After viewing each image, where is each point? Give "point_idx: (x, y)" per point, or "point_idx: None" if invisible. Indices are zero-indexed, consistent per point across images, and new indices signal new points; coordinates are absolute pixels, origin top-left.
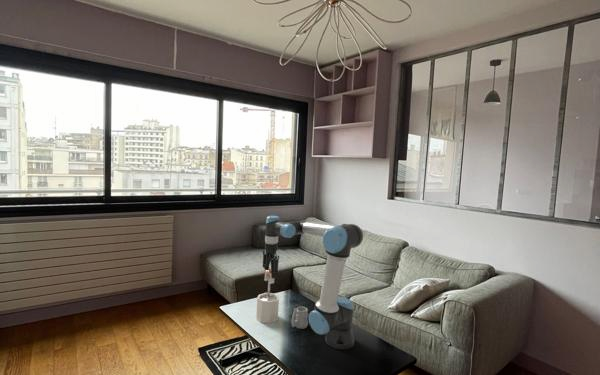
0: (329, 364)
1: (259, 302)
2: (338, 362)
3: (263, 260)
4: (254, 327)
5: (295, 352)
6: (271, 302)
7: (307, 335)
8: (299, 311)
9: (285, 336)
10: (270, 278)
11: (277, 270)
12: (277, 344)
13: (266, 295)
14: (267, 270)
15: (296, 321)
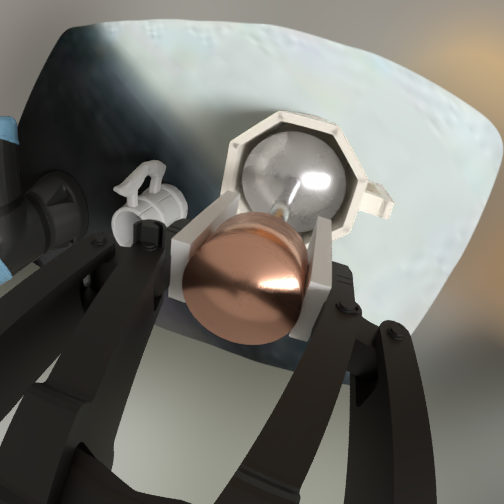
0: (32, 112)
1: (312, 118)
2: (28, 134)
3: (411, 431)
4: (285, 63)
5: (88, 74)
6: (230, 145)
7: (116, 168)
8: (124, 207)
9: (153, 106)
10: (207, 208)
11: (84, 290)
12: (141, 53)
13: (340, 221)
14: (261, 272)
15: (150, 183)
